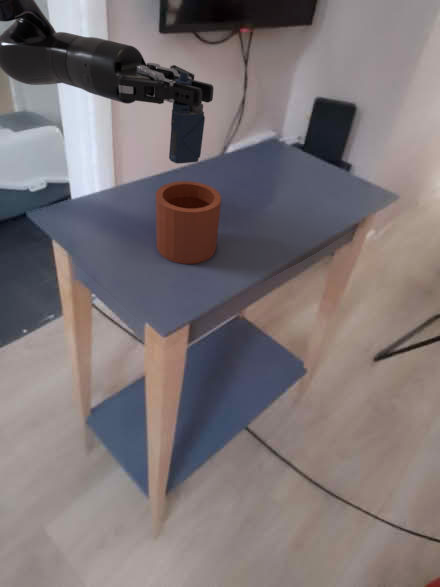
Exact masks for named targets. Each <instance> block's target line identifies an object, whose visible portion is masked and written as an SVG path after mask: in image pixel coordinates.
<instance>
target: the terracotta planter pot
mask: <svg viewBox="0 0 440 587" xmlns="http://www.w3.org/2000/svg"><path fill="white" fill-rule="evenodd" d="M221 206H222V196H221V194H220V192H219V191H218V190H217V189H215V188H214V187H212V186H210V185H208V184H204V183H203V182H197V181H192V180H191V181H189V180H187V181H186V180H182V181H181V180H179V181H173V182H172V181H171V182H169V183H166V184H164V185H162V186H160V187H159V188H158V189H157V190H156V192H155V216H156V217H155V224H156V226H155V228H156V233H155V234H156V249H157V252H158V253H159V254H160V255H161V256H162V258H165V259H166V260H168V261H171V262H173V263H176V264H181V265H182V264H183V265H194V264H195V265H196V264H199V263H203V262H206V261H208V260H209V259H211V258H212V257H213V256H214V255H215V253H216V250H217V245H218V236H219V235H218V234H219V226H220V215H221Z"/></svg>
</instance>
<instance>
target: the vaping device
mask: <svg viewBox="0 0 440 587" xmlns="http://www.w3.org/2000/svg"><path fill="white" fill-rule="evenodd" d="M187 78H188V74H187V73H183V72H181V73H180V79H175V81H176V83H182V84H186V85H190V86H192V82H191V81H189V80H187ZM170 119H171V120H170V140H169V153H168V159H169V161H171V162H172V163H174V164H190V163H197V162H199V159H200V157H201V154H202V153H201V152H202V146H203V136H204V130H205V119H206V117H205V111H204V104H203V103H201V105H200V106H197V107H195V106H191V105H188V104H184V103H180V102H177V101H176V100H175V102H173V103H172V109H171V118H170Z"/></svg>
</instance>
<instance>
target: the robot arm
mask: <svg viewBox="0 0 440 587" xmlns="http://www.w3.org/2000/svg"><path fill="white" fill-rule="evenodd" d="M12 21H14V22H13V23H12V24H11V25H9V27H7V28H6V30H4V31H3V32H2V33H1V34H0V69H1V70H2V72H3V73H5V75H6V76H8V77H9V78H11V79H13V80H15V81H17V82H19V83H22V84H25V85H30V86H44V85H48V86H49V85H58V84H63V85H64V84H65V85H67V86H71V87H75V88H78V89H80V90H82V91H85V92H87V93H89V94H92V95H95V96H99V97H102V98H105V99H109V100H112V101H115V102H119V103H122V104H128V105H129V104H133V103H135V102H142V103H151V104H157V105H162V104H165V102H168V103H172V104H173V102H175V100H176V101H177V102H180V103H184V104H188V105H191V106H195V107H197V106H200V105H201V104H203V102H204V103H208V104H209V103H211V102H212V101H213V100H214V85H213V84H211V83H207V82H203V81H199V80H195V74H194V73H193V72H190V71H188V70H185V69H183V68H181V67H179V66H178V65H175V64H172V65H170V66H169V67H165V66H161V65H160V64H159V63H155V62H147V63H146V60H145V59H144V57H143V54H142V53H141V52H140V50H139V49H138V48H136V47H135V46H133V45H130V44H126V43H121V42H116V41H113V40H108V39H105V38H99V37H95V36H94V37H93V36H82V35H78V34H74V33H70V32H64V31H58V32H57V31H56V29H55V28H54V27H53V25H52V24H51V22H50V21H49V19H48V18H47V17H46V16H45V14H44V13H43V11H42V10H41V8H40V6H39V5H38V4H37V2H36V1H35V0H0V23H1V22H2V23H3V22H4V23H5V22H12ZM181 72H183V73H187V74H188V78H187V80H189V81H191V82H192V86H190V85H186V84H182V83H176V81H175V79H180V73H181Z"/></svg>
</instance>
